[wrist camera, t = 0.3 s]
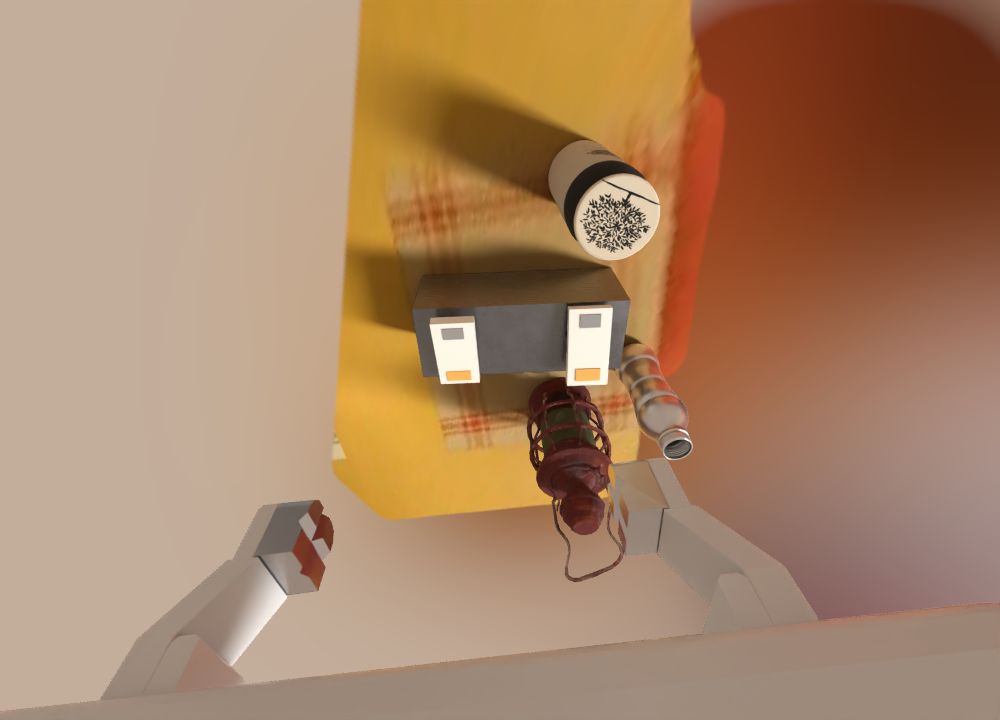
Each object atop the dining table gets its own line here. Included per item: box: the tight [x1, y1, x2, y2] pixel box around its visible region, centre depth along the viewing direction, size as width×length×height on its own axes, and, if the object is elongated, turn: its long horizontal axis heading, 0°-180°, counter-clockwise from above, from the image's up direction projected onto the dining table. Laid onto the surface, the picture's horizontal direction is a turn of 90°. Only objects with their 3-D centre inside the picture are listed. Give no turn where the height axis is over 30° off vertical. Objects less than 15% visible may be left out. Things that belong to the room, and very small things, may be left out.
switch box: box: [412, 267, 630, 377], centre depth 57 cm, size 10×26×11 cm, turn 92°
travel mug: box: [548, 140, 660, 260], centre depth 44 cm, size 8×8×18 cm
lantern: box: [527, 378, 624, 582], centre depth 60 cm, size 12×12×30 cm
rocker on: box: [430, 316, 480, 384], centre depth 52 cm, size 10×5×1 cm, turn 2°
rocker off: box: [566, 305, 613, 386], centre depth 51 cm, size 10×5×1 cm, turn 2°
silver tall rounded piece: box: [615, 344, 693, 460], centre depth 59 cm, size 6×7×20 cm
